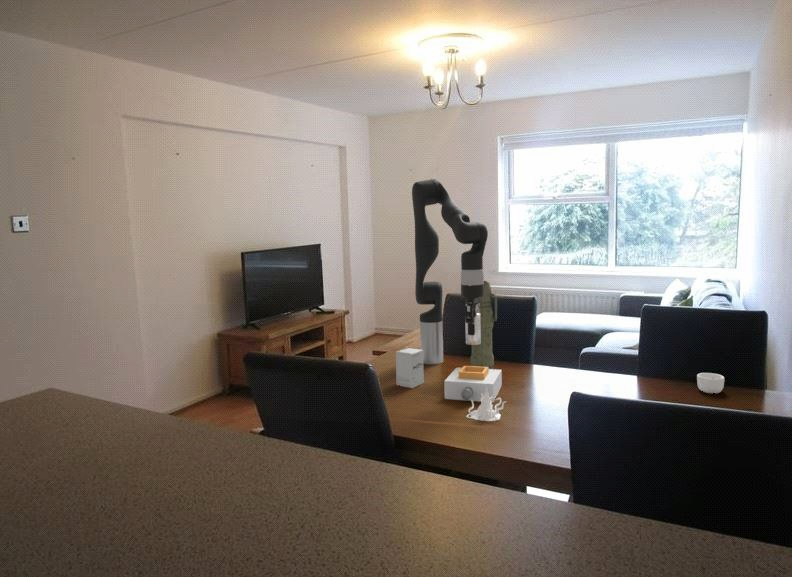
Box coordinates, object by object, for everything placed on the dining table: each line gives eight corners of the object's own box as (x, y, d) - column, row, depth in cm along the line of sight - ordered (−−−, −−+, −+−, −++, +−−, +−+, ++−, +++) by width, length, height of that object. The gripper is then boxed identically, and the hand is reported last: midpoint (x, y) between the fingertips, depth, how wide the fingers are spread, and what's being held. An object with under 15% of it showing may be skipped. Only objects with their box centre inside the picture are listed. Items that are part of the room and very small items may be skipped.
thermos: (467, 368, 219) (466, 280, 215) (498, 369, 216) (497, 280, 212) (465, 374, 210) (463, 282, 206) (497, 375, 207) (496, 282, 203)
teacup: (726, 396, 175) (726, 380, 174) (698, 394, 177) (699, 378, 177) (719, 387, 184) (720, 372, 183) (693, 386, 187) (694, 370, 186)
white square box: (456, 383, 198) (456, 361, 197) (501, 386, 193) (501, 364, 192) (441, 402, 177) (441, 378, 176) (491, 406, 172) (491, 381, 171)
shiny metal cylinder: (467, 341, 188) (466, 312, 187) (481, 342, 187) (481, 312, 185) (464, 344, 183) (463, 314, 182) (479, 345, 182) (478, 315, 181)
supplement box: (412, 389, 193) (411, 353, 192) (395, 385, 198) (394, 351, 196) (424, 384, 199) (423, 349, 197) (408, 381, 203) (407, 347, 202)
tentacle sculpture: (469, 410, 169) (468, 381, 168) (508, 413, 166) (508, 383, 165) (464, 420, 161) (463, 389, 160) (506, 423, 158) (505, 391, 156)
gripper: (465, 280, 191) (466, 329, 193) (456, 285, 177) (457, 337, 179) (487, 280, 188) (487, 329, 190) (479, 285, 175) (480, 338, 177)
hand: (473, 333), depth 185 cm, fingers closed on shiny metal cylinder, 5 cm apart
